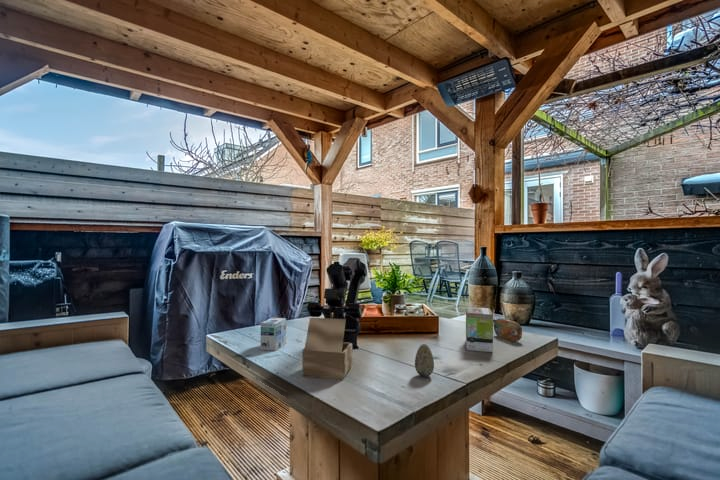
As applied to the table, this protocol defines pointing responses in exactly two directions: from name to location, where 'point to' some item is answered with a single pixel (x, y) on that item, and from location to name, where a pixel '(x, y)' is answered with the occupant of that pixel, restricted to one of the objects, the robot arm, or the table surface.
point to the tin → (508, 330)
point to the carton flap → (325, 335)
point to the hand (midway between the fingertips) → (329, 331)
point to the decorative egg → (424, 361)
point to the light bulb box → (273, 334)
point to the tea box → (479, 329)
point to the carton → (327, 363)
